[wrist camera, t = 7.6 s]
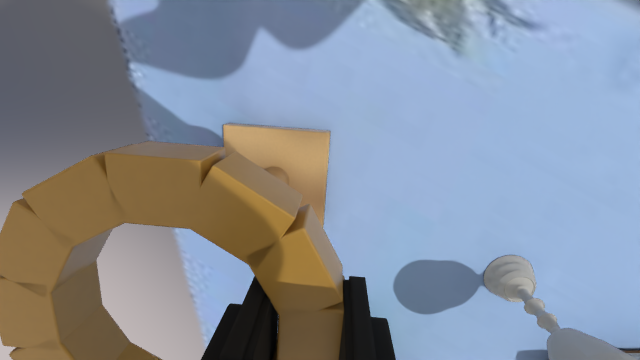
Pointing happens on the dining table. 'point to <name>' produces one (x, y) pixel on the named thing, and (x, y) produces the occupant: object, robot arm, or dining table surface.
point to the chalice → (563, 344)
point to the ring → (170, 211)
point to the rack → (286, 157)
